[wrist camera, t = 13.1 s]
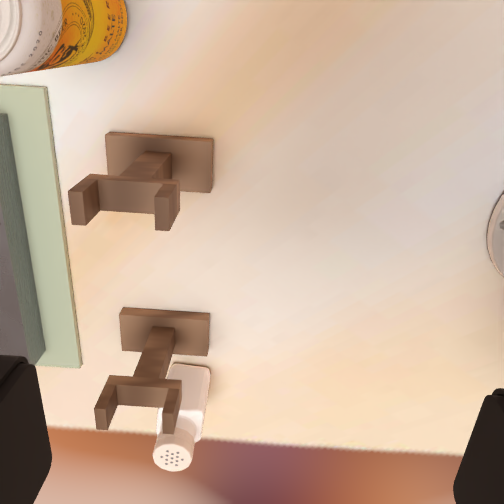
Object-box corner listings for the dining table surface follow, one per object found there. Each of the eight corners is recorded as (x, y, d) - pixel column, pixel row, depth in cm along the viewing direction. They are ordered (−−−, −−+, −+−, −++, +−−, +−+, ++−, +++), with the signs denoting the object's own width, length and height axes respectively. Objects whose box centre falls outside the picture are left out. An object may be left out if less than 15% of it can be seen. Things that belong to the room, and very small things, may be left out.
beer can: (93, 80, 34) (-24, 110, 20) (25, 11, 32) (-154, -6, 18) (148, 17, 32) (59, 3, 18) (79, -59, 30) (-77, -138, 16)
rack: (213, 138, 35) (190, 181, 25) (208, 348, 44) (190, 445, 33) (109, 132, 35) (43, 172, 25) (125, 342, 44) (81, 438, 33)
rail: (-33, 110, 34) (-58, 117, 32) (7, 113, 34) (-15, 120, 32) (14, 347, 44) (-2, 368, 41) (46, 349, 44) (31, 370, 41)
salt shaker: (168, 391, 46) (146, 472, 38) (171, 360, 45) (148, 437, 36) (207, 396, 46) (194, 478, 38) (212, 365, 45) (198, 444, 36)
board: (46, 87, 34) (42, 87, 33) (82, 364, 45) (80, 368, 45) (-74, 79, 34) (-80, 80, 33) (-9, 358, 45) (-12, 362, 45)
